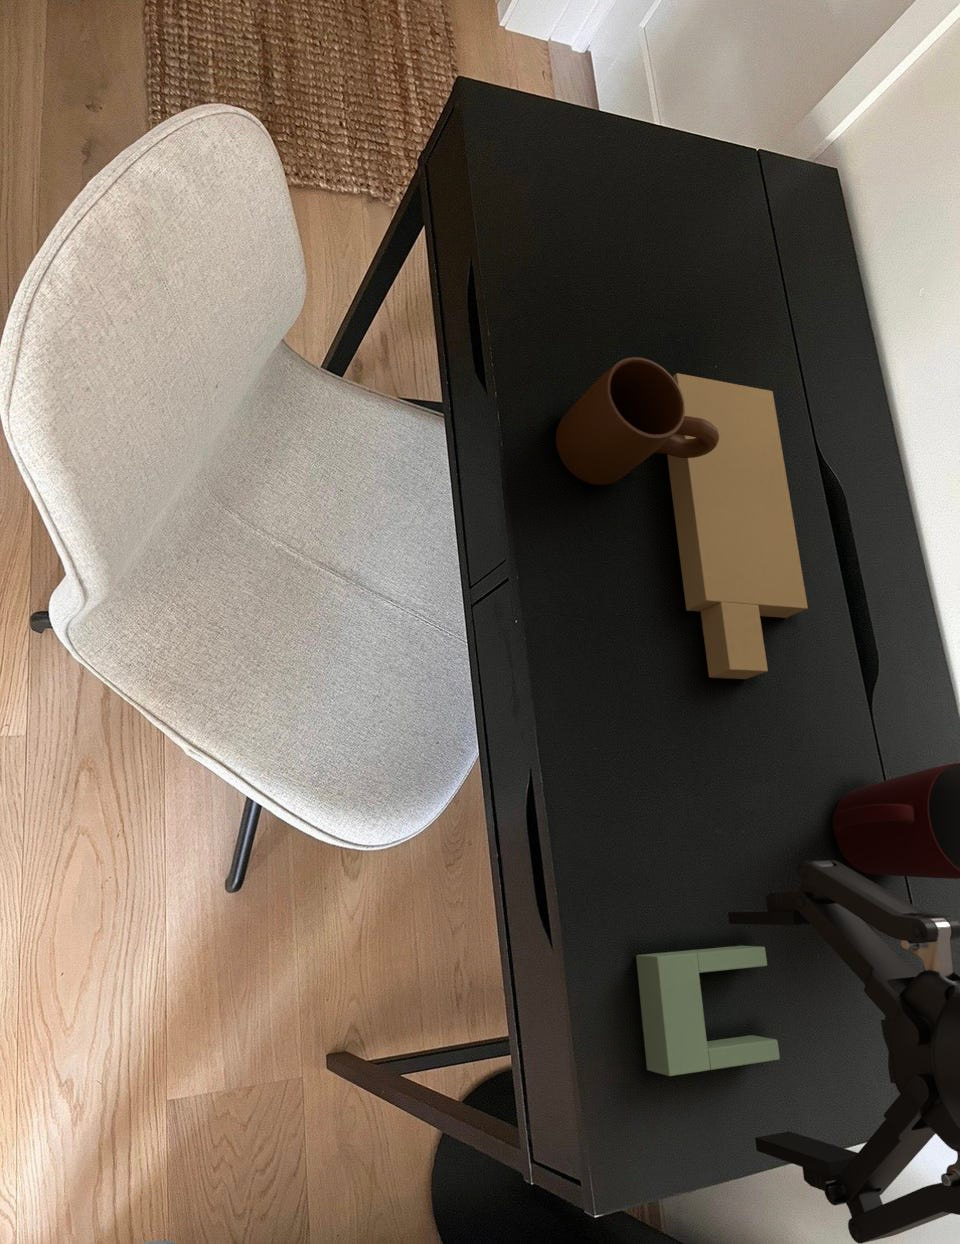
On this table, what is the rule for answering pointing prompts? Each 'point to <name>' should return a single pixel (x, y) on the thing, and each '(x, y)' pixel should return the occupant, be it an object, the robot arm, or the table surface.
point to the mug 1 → (629, 423)
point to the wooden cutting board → (735, 525)
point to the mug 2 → (903, 825)
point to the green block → (692, 1012)
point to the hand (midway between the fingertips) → (758, 1025)
